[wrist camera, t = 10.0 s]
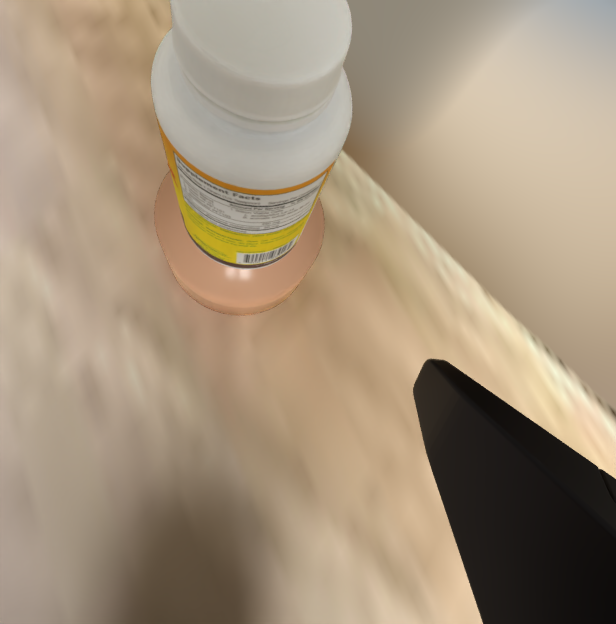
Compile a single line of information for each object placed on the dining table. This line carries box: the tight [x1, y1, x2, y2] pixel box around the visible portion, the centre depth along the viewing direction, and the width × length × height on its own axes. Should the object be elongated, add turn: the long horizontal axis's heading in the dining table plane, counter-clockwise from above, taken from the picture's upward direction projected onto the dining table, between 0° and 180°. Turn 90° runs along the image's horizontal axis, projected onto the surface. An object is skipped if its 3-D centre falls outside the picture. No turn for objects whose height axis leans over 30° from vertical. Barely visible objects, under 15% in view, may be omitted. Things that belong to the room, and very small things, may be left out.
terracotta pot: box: [154, 171, 324, 315], centre depth 20 cm, size 8×8×4 cm
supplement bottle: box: [151, 0, 352, 270], centre depth 13 cm, size 6×6×10 cm
